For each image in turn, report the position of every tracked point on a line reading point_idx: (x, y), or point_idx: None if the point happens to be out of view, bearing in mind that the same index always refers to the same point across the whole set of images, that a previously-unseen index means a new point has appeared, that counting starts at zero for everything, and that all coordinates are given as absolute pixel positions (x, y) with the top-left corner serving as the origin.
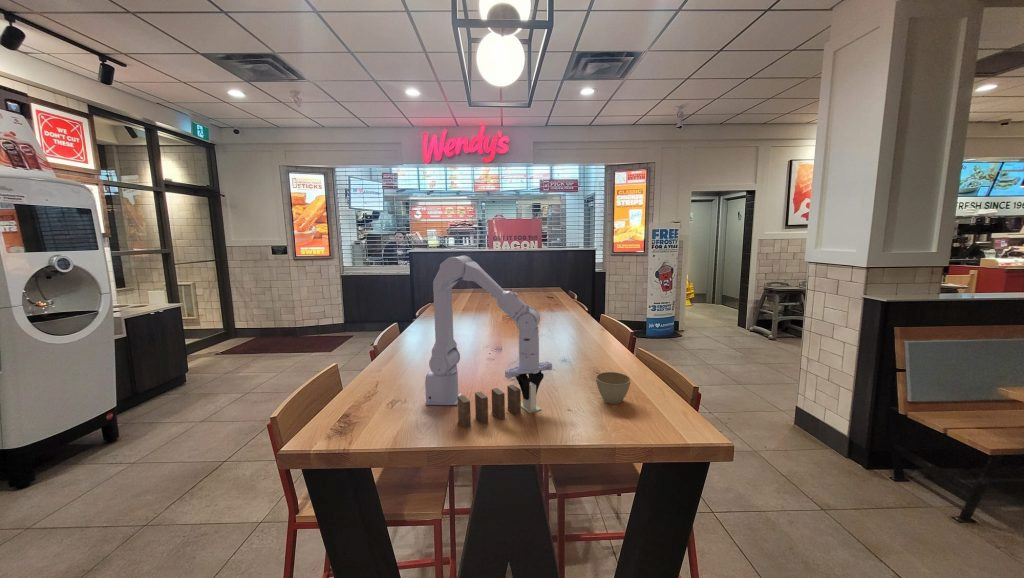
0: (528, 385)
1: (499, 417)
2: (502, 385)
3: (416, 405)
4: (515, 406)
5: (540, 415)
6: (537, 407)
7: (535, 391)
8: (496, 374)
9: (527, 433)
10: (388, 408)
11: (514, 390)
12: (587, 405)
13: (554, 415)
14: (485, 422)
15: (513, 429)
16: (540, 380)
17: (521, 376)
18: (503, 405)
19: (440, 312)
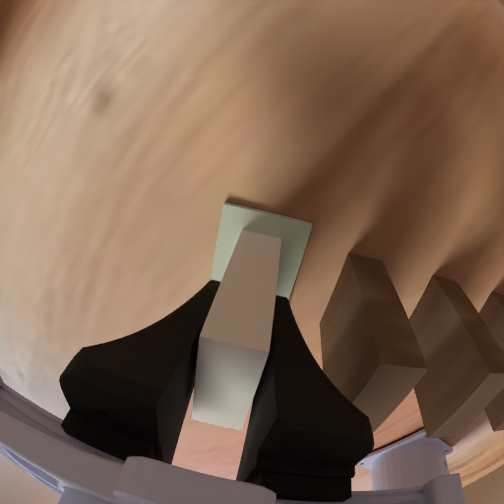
0: (286, 369)
1: (458, 286)
2: (203, 438)
3: (457, 450)
4: (392, 288)
5: (281, 152)
6: (227, 233)
7: (221, 296)
8: (174, 464)
9: (479, 77)
10: (484, 452)
11: (422, 375)
12: (24, 97)
13: (213, 94)
14: (500, 295)
15: (494, 160)
16: (129, 345)
17: (332, 480)
18: (465, 318)
19: None
